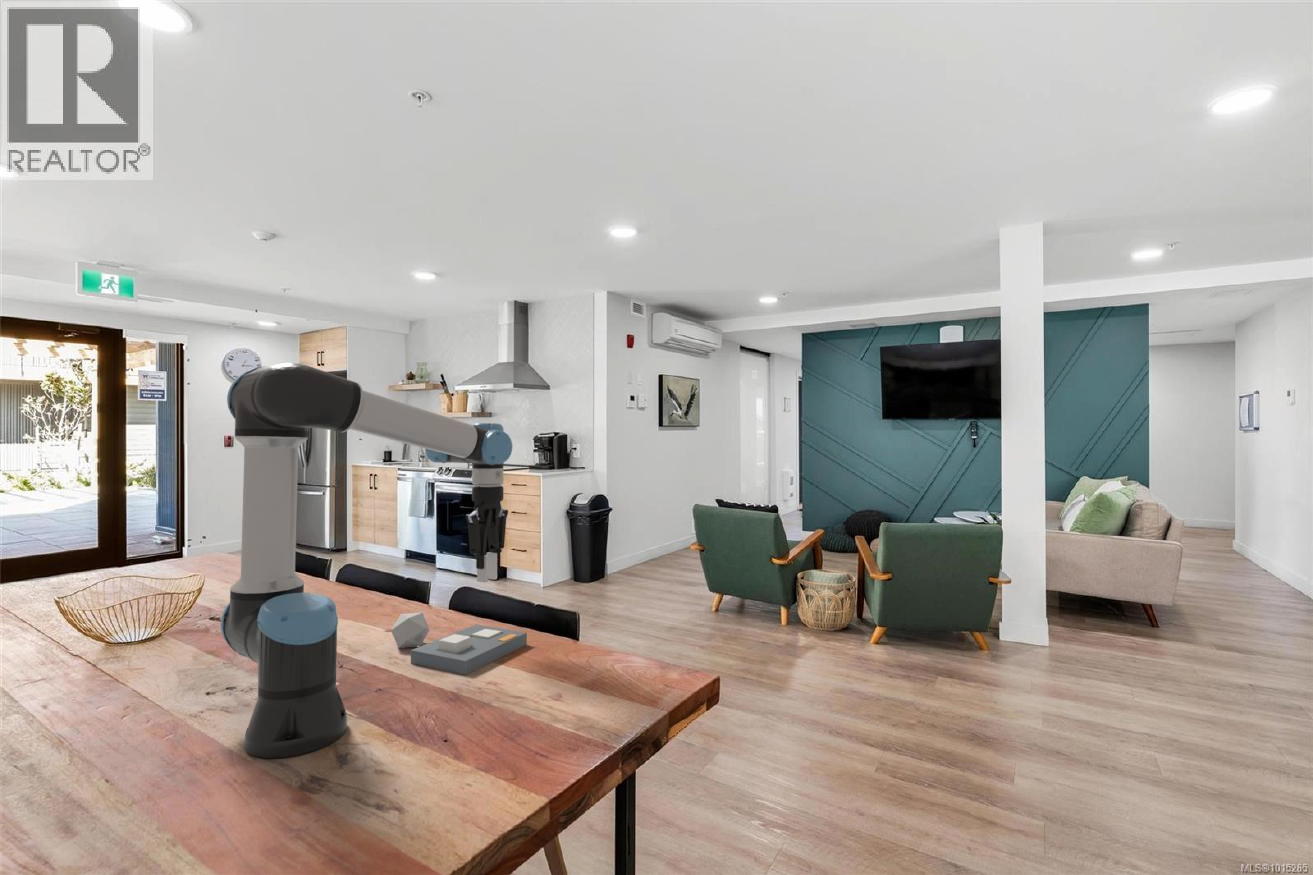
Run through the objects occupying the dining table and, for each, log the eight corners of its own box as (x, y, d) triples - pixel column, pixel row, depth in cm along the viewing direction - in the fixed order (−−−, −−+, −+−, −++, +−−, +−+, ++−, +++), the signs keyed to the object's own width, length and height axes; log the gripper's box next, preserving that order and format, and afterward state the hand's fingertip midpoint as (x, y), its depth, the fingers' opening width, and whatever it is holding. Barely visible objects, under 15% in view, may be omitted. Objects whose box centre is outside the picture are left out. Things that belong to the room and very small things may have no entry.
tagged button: (487, 650, 149) (488, 637, 149) (471, 647, 151) (471, 634, 151) (501, 644, 153) (501, 631, 153) (485, 641, 156) (485, 628, 156)
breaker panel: (465, 674, 134) (465, 660, 134) (410, 663, 141) (410, 649, 141) (526, 644, 154) (526, 631, 154) (476, 635, 161) (476, 623, 161)
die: (410, 656, 147) (434, 619, 151) (379, 638, 147) (404, 602, 151) (416, 657, 154) (439, 622, 158) (386, 640, 155) (410, 605, 158)
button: (455, 657, 139) (455, 643, 139) (438, 654, 141) (438, 640, 141) (470, 650, 143) (471, 636, 143) (454, 647, 146) (454, 633, 146)
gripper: (478, 488, 144) (477, 588, 144) (519, 484, 158) (519, 575, 158) (453, 486, 147) (452, 585, 147) (496, 483, 161) (495, 572, 161)
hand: (487, 580), depth 152 cm, fingers open, 3 cm apart
